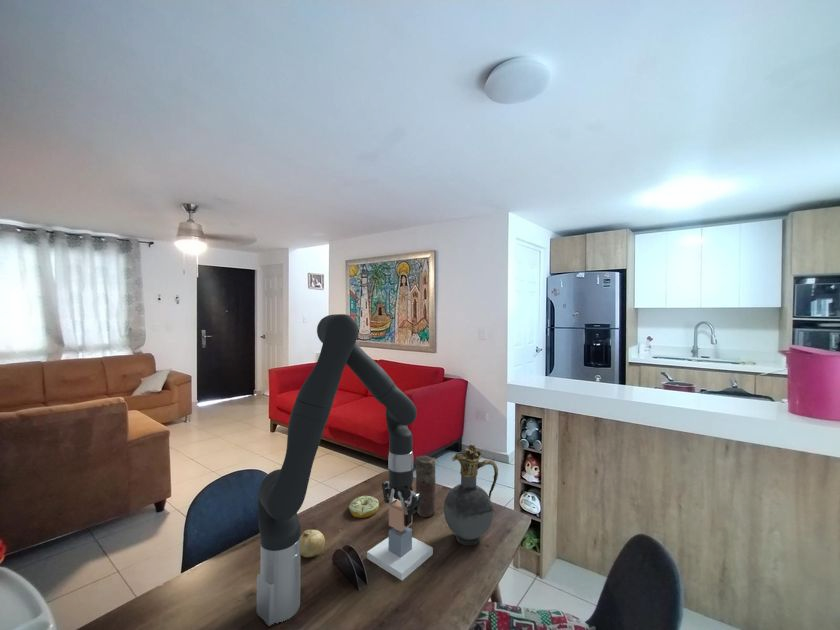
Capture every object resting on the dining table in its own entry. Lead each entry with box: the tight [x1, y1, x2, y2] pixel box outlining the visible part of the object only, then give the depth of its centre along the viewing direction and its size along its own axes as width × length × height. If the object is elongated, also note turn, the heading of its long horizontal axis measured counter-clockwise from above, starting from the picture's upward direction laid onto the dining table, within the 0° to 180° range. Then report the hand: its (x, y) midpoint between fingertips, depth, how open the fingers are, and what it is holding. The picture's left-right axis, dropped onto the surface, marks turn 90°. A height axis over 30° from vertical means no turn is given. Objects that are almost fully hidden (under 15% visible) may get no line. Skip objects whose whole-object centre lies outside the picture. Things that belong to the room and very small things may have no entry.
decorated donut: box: [348, 495, 380, 519], centre depth 133 cm, size 10×11×4 cm
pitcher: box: [443, 444, 499, 546], centre depth 118 cm, size 11×19×30 cm, turn 113°
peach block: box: [388, 500, 413, 532], centre depth 109 cm, size 5×5×6 cm
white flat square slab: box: [366, 536, 434, 581], centre depth 109 cm, size 14×14×2 cm
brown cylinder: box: [415, 455, 437, 518], centre depth 133 cm, size 8×7×20 cm
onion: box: [300, 528, 326, 558], centre depth 110 cm, size 8×8×7 cm
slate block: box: [388, 526, 413, 558], centre depth 109 cm, size 5×5×6 cm
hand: (400, 521), depth 109 cm, fingers closed on peach block, 5 cm apart
